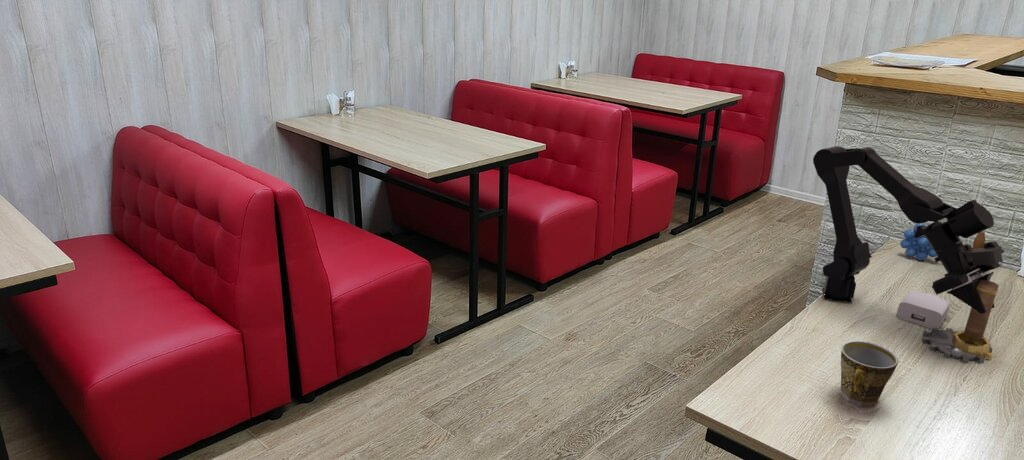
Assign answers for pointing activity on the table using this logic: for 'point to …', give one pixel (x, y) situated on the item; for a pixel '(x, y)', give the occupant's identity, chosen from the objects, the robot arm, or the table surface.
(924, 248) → the grapes
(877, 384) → the ceramic cup
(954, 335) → the sprocket
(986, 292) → the peg
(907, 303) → the charger
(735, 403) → the table surface
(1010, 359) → the table surface
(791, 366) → the table surface
